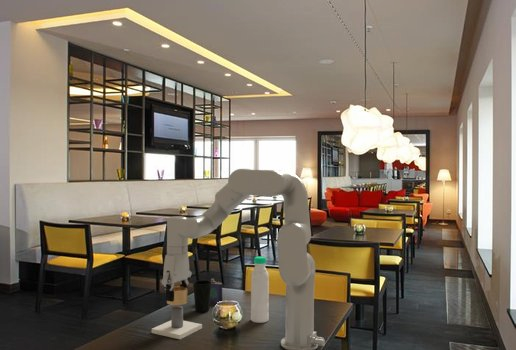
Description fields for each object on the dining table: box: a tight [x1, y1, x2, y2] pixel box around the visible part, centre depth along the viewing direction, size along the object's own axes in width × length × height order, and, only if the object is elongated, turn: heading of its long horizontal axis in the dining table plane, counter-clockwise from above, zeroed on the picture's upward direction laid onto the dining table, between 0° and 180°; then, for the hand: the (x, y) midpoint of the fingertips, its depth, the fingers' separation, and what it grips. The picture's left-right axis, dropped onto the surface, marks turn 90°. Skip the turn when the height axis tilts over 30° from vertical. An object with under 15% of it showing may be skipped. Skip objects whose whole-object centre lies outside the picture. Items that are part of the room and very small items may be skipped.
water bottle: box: [250, 256, 270, 324], centre depth 180 cm, size 7×7×25 cm
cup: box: [192, 279, 211, 314], centre depth 193 cm, size 8×8×12 cm
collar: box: [166, 285, 189, 306], centre depth 169 cm, size 7×7×5 cm
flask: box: [210, 278, 223, 305], centre depth 205 cm, size 9×3×11 cm, turn 76°
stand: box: [151, 305, 203, 340], centre depth 169 cm, size 13×13×8 cm
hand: (176, 297), depth 169 cm, fingers closed on collar, 7 cm apart
